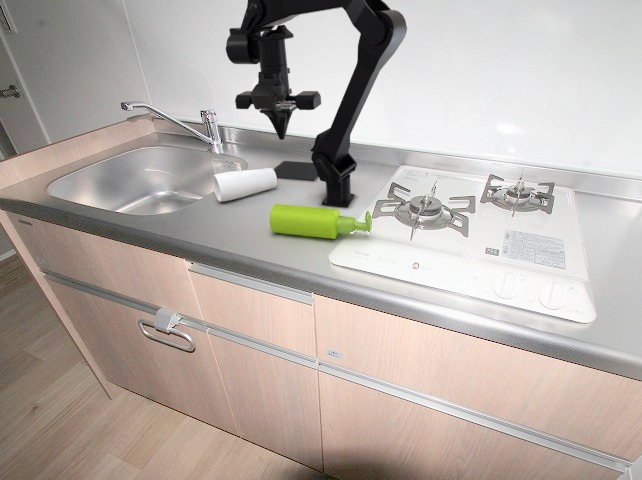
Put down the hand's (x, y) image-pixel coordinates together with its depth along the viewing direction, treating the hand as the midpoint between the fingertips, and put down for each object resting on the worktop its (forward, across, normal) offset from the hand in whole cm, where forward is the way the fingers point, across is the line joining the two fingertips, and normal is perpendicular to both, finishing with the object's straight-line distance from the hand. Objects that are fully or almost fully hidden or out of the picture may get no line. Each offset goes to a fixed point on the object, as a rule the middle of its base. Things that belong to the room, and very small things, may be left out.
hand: (282, 139), depth 86 cm
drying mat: (+13, -2, +13) cm, 19 cm away
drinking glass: (+10, -4, +1) cm, 11 cm away
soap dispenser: (+10, +5, -20) cm, 23 cm away
